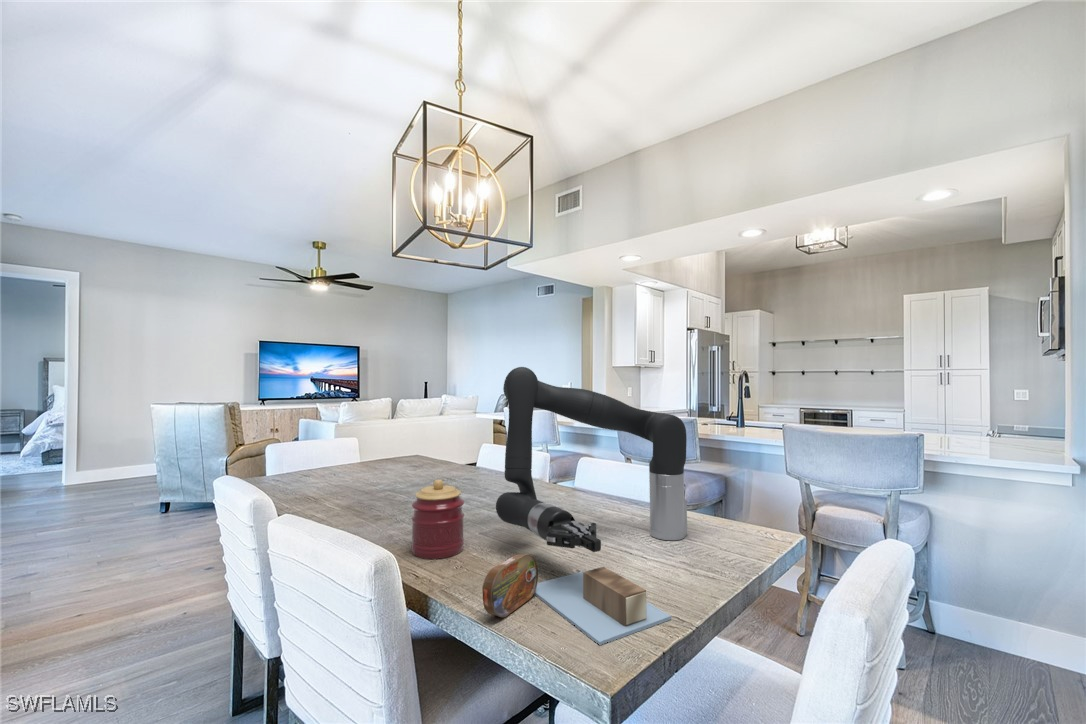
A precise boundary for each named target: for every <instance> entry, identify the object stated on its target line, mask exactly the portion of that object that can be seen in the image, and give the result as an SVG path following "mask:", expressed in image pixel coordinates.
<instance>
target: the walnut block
mask: <svg viewBox="0 0 1086 724" xmlns="http://www.w3.org/2000/svg"><path fill="white" fill-rule="evenodd" d="M588 570H589V571H587V570H584V571H585V572H583V571H582V572H583V599H585V600H586V601H588V602H589V603H591V604H592V605H594V606H595V607H596V608H598V609H599V610H601V611H602V612H604V613H605V614H607V615H608V616H610V617H611V618H613V619H614V620H616V621H617V622H619V623H620V624H622V625H623V626H624V627H625V626H628V625H630V624H633V623H636V622H639V621H642V620H645V619H646V602H647V589H646V588H644V587H642V586H641V585H638V584H636V583H634V582H633V581H631V580H629V579H627V578H625V577H623V576H621V575H619V574H618V573H616V572H614V571H612V570H611V569H609V568H606V567H605V566H601V567H598V568H593V569H588Z"/></svg>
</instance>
